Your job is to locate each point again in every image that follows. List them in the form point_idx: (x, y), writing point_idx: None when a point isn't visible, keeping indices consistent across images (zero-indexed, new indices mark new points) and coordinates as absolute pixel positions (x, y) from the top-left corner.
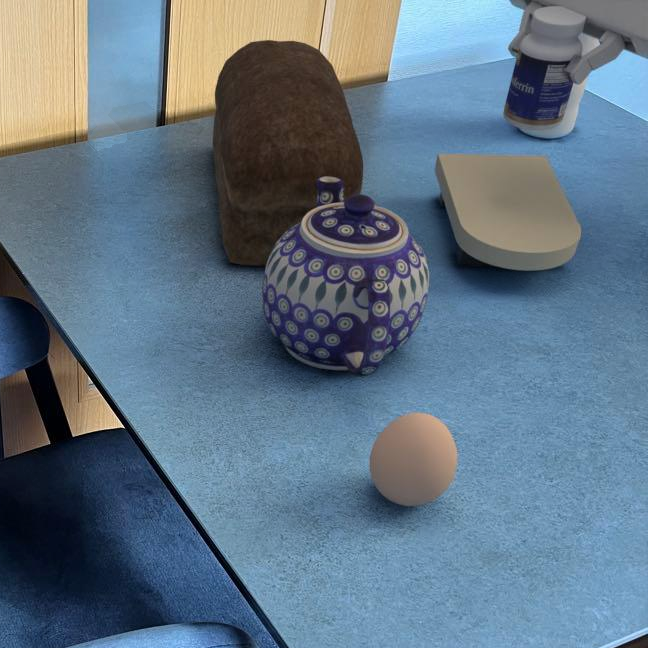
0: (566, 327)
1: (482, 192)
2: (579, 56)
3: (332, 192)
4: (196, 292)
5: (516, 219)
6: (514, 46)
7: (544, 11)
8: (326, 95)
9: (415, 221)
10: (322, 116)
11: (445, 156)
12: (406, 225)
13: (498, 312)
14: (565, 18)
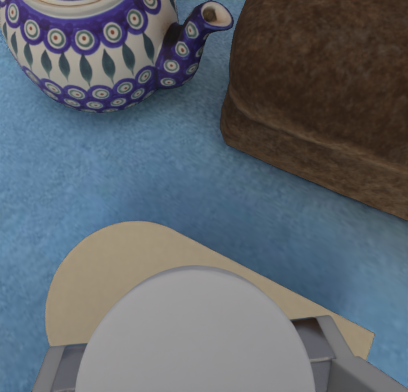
0: (6, 281)
1: None
2: (63, 389)
3: (192, 12)
4: (236, 11)
5: None
6: (309, 319)
7: (262, 351)
8: (399, 44)
9: (285, 269)
10: (325, 8)
11: (361, 338)
12: (40, 4)
13: (70, 231)
14: (146, 384)
